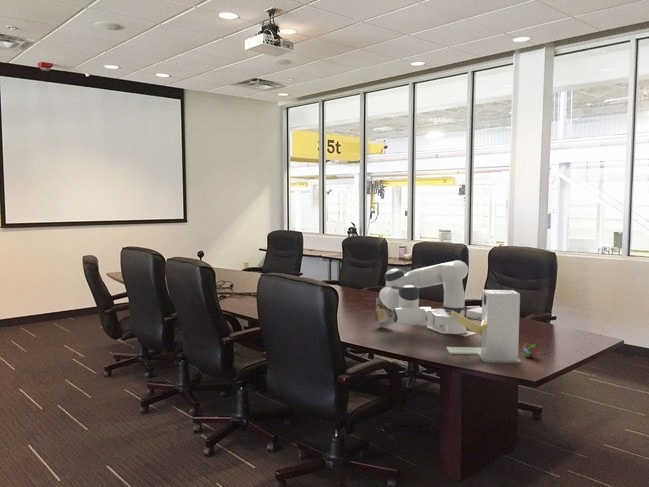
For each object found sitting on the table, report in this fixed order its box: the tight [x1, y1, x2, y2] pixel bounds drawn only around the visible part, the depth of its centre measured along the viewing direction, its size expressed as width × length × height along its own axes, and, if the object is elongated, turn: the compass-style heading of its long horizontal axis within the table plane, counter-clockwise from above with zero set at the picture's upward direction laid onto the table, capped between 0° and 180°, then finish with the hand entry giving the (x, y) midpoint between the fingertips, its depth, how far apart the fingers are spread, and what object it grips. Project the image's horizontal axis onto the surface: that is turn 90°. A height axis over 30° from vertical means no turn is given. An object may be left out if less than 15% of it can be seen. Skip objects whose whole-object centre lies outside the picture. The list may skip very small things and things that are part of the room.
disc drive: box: [465, 306, 482, 321], centre depth 327 cm, size 18×22×5 cm
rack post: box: [477, 289, 522, 364], centre depth 238 cm, size 16×11×31 cm
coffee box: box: [375, 296, 395, 328], centre depth 299 cm, size 9×6×16 cm
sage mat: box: [446, 346, 481, 355], centre depth 251 cm, size 22×9×1 cm, turn 87°
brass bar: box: [450, 310, 482, 336], centre depth 247 cm, size 19×4×4 cm, turn 85°
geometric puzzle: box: [522, 342, 540, 360], centre depth 242 cm, size 7×7×8 cm
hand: (456, 316), depth 248 cm, fingers closed on brass bar, 3 cm apart
